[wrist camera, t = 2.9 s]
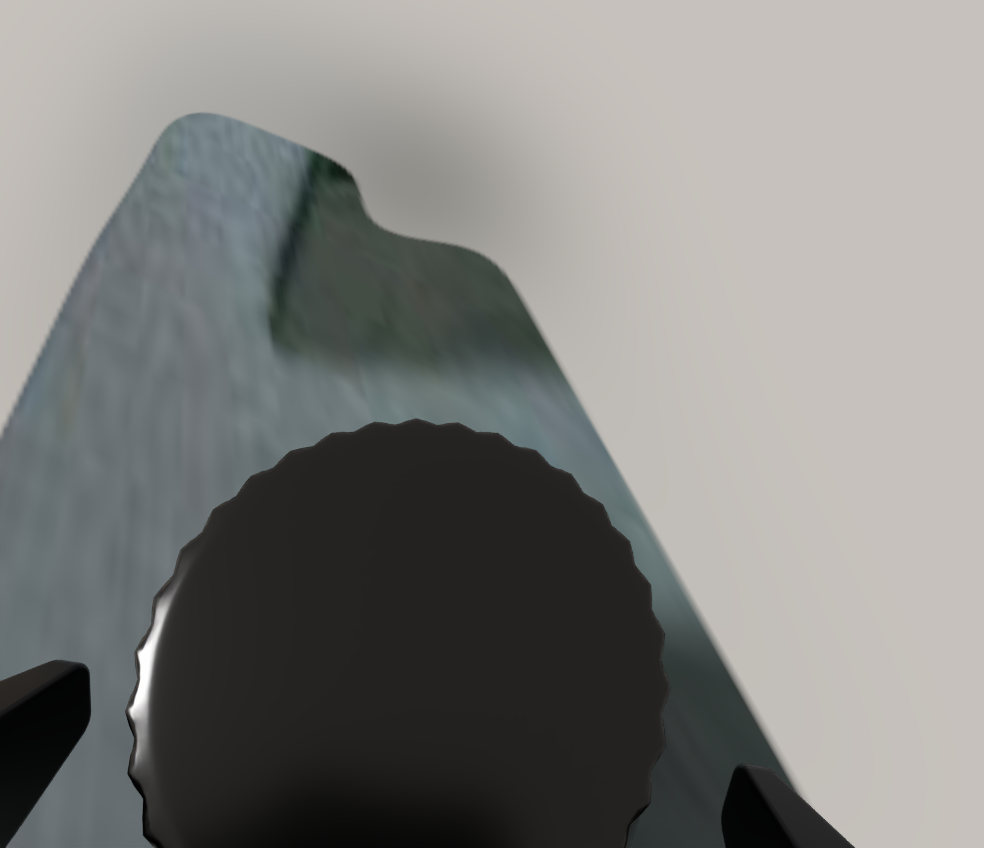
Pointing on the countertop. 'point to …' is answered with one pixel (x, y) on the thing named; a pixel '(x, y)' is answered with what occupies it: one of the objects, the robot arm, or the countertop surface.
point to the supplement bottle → (401, 657)
